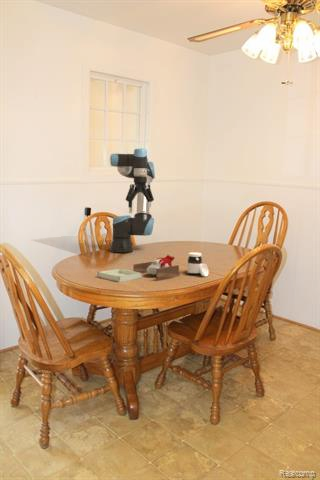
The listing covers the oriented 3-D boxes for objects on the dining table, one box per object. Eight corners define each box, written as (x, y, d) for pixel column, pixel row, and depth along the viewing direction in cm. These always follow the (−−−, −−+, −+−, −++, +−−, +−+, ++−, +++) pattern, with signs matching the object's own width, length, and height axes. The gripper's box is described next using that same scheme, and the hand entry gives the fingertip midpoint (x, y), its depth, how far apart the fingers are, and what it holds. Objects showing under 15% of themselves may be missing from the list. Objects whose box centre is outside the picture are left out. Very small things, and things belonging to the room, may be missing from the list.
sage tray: (97, 276, 214) (97, 271, 214) (119, 273, 225) (119, 268, 224) (119, 282, 202) (119, 276, 202) (141, 278, 213) (141, 273, 213)
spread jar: (188, 272, 230) (188, 251, 228) (208, 273, 228) (209, 252, 227) (186, 277, 218) (187, 254, 217) (208, 277, 216) (208, 255, 215)
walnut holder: (133, 275, 219) (133, 264, 218) (155, 271, 231) (155, 261, 230) (157, 280, 207) (157, 268, 206) (179, 276, 219) (179, 265, 218)
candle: (145, 269, 222) (163, 247, 222) (161, 282, 222) (179, 260, 222) (145, 271, 213) (163, 248, 213) (162, 285, 213) (180, 262, 213)
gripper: (128, 175, 228) (128, 213, 230) (160, 176, 246) (159, 212, 248) (119, 175, 233) (119, 213, 235) (151, 177, 251) (150, 212, 253)
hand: (139, 213), depth 242 cm, fingers open, 13 cm apart
